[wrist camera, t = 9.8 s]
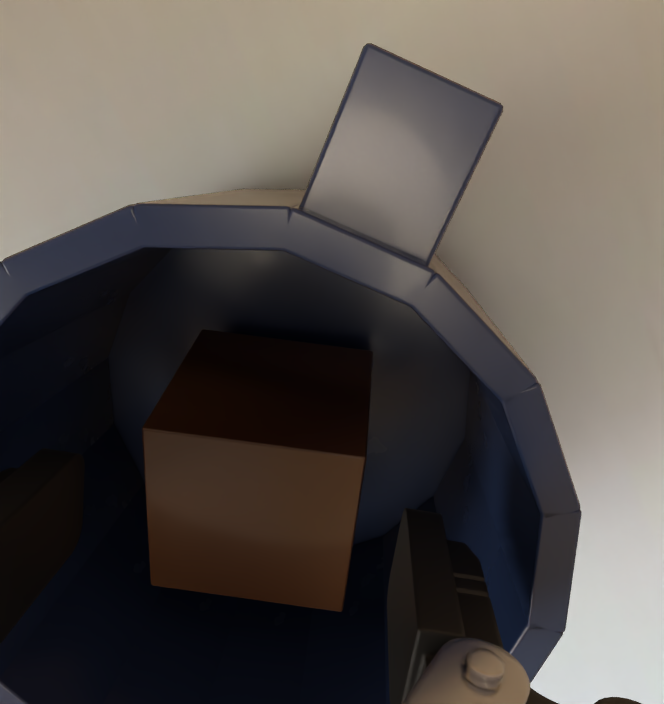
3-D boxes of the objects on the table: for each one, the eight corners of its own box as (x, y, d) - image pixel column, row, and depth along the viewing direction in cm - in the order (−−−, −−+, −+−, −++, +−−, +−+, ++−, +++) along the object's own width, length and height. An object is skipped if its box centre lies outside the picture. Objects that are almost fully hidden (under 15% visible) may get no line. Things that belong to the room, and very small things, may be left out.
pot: (30, 539, 22) (-186, 770, 14) (200, 21, 17) (29, -127, 9) (354, 670, 23) (342, 969, 14) (609, 208, 18) (824, 242, 9)
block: (201, 464, 20) (149, 586, 16) (201, 328, 17) (140, 427, 13) (353, 484, 20) (342, 613, 15) (373, 350, 17) (366, 458, 13)
